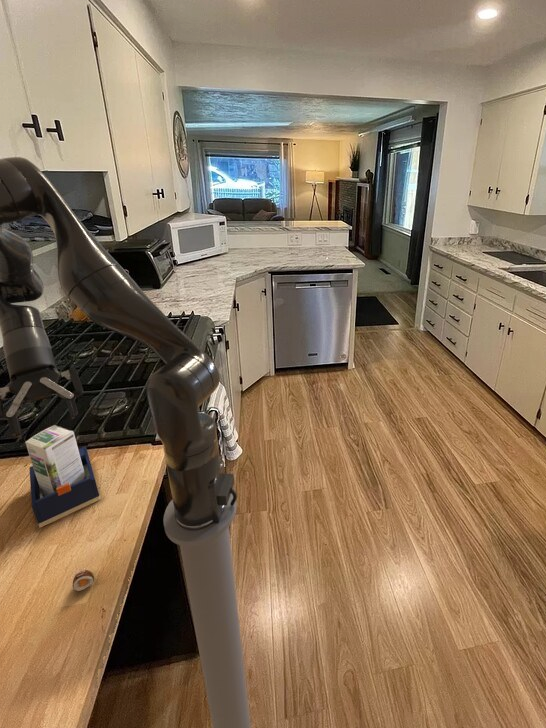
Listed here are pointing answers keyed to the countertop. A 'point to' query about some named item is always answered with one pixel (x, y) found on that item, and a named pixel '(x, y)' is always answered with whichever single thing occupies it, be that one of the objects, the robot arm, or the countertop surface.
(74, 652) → the countertop surface
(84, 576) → the chocolate
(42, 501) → the navy blue pull-out drawer
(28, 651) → the countertop surface
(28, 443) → the syrup box
